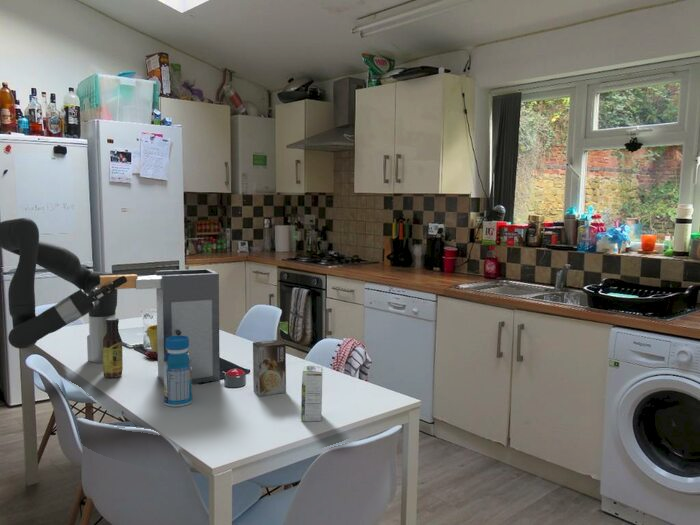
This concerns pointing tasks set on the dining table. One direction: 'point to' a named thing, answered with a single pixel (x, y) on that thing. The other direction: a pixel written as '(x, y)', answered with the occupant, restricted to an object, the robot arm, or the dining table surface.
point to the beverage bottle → (177, 372)
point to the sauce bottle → (112, 350)
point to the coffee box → (269, 367)
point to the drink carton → (311, 393)
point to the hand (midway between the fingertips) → (124, 277)
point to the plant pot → (153, 337)
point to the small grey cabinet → (190, 319)
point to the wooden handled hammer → (134, 281)
